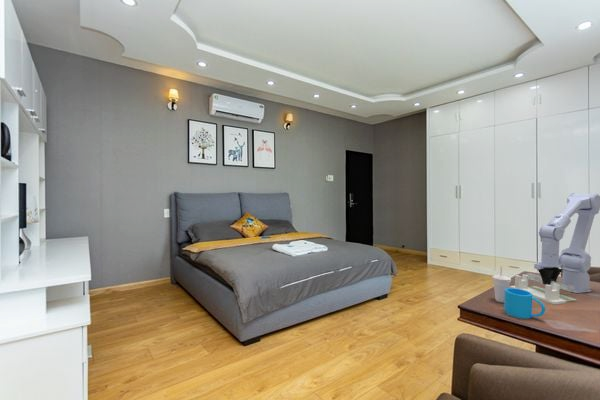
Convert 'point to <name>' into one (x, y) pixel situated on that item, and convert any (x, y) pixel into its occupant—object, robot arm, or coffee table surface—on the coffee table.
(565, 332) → the coffee table surface
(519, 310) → the mug
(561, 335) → the coffee table surface
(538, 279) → the rail
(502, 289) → the smoothie
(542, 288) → the mat
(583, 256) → the robot arm
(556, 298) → the rack
